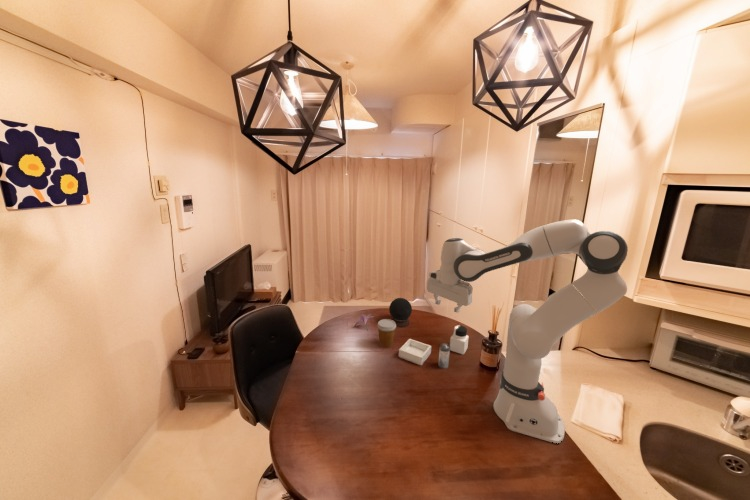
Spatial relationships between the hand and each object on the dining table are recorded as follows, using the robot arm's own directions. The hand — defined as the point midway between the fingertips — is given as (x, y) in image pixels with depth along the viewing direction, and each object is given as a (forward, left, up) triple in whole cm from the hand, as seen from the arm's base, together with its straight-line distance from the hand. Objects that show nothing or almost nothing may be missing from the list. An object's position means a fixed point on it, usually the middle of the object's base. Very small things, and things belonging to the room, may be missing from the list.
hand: (446, 307), depth 122 cm
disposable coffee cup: (+30, -3, -30) cm, 42 cm away
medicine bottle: (-2, -20, -30) cm, 35 cm away
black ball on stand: (+35, -28, -30) cm, 54 cm away
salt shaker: (0, -3, -29) cm, 29 cm away
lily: (+49, -11, -30) cm, 58 cm away
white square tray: (+14, -3, -29) cm, 33 cm away
